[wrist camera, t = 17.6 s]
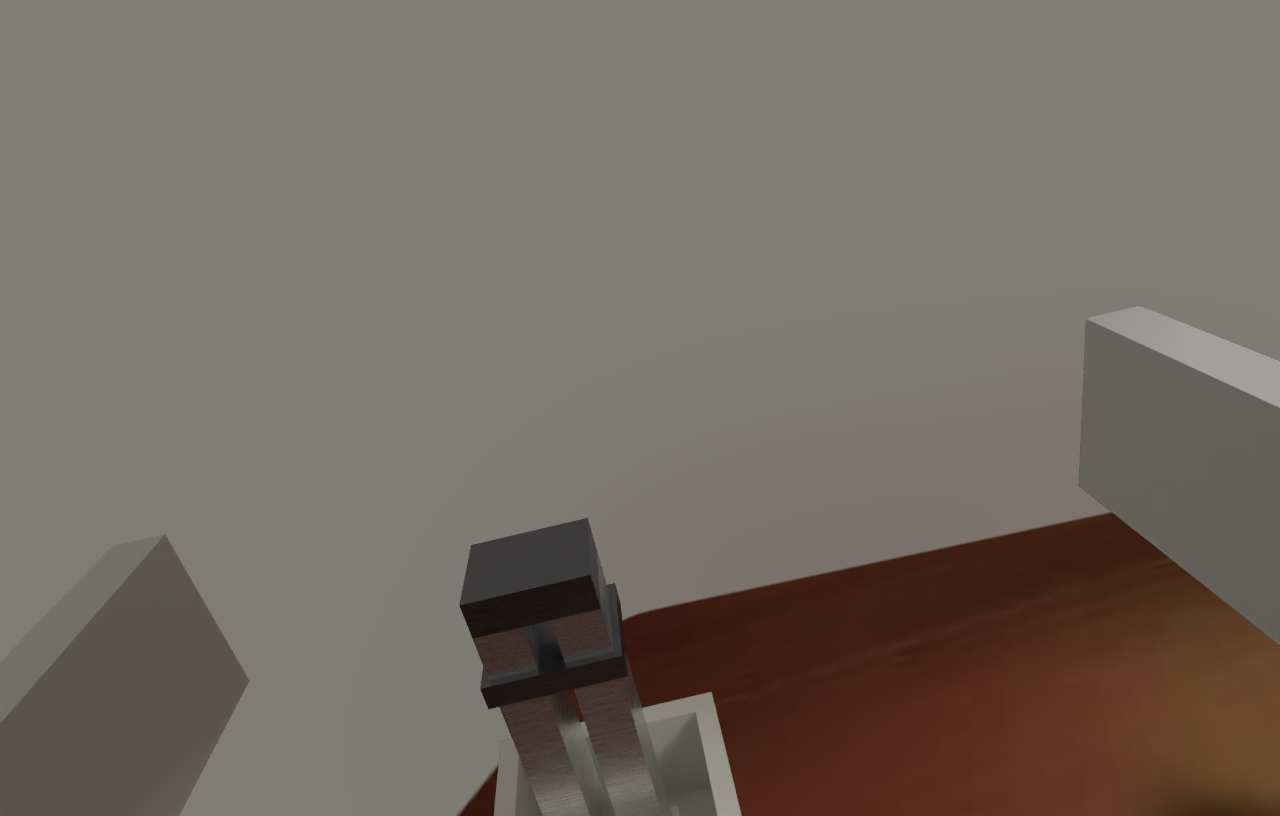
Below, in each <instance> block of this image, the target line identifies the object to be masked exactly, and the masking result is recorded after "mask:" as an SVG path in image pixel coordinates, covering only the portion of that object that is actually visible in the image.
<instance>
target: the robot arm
mask: <svg viewBox="0 0 1280 816" xmlns="http://www.w3.org/2000/svg"><path fill="white" fill-rule="evenodd" d="M1084 351H1085V352H1084V373H1083V398H1082V422H1081V445H1080V446H1081V447H1080V469H1079V487H1081V488H1082V489H1083V490H1084V491H1086V492H1087V493H1089V494H1090V495H1091V496H1092V497H1093V498H1095V499H1096V500H1097V501H1098V502H1100V503H1101V504H1102V505H1103V506H1105V507H1106V508H1107V509H1109V510H1110V511H1111V512H1112V513H1113V514H1115V515H1116V516H1117V517H1119V518H1120V519H1121V520H1122V521H1124V522H1125V523H1126V524H1127V525H1129V526H1130V527H1131V528H1132V529H1134V530H1135V531H1136V532H1138V533H1139V534H1140V535H1141V536H1143V537H1144V538H1145V539H1146V540H1148V541H1149V542H1150V543H1151V544H1153V545H1154V546H1155V547H1156V548H1158V549H1159V550H1160V551H1162V552H1163V553H1164V554H1165V555H1167V556H1168V557H1169V558H1170V559H1172V560H1173V561H1174V562H1175V563H1177V564H1178V565H1179V566H1180V567H1182V568H1183V569H1184V570H1186V571H1187V572H1188V573H1189V574H1191V575H1192V576H1193V577H1194V578H1196V579H1197V580H1198V581H1199V582H1201V583H1202V584H1203V585H1205V586H1206V587H1207V588H1208V589H1210V590H1211V591H1212V592H1213V593H1215V594H1216V595H1217V596H1218V597H1220V598H1221V599H1222V600H1223V601H1225V602H1226V603H1227V604H1229V605H1230V606H1231V607H1232V608H1234V609H1235V610H1236V611H1237V612H1239V613H1240V614H1241V615H1242V616H1244V617H1245V618H1246V619H1247V620H1249V621H1250V622H1251V623H1253V624H1254V625H1255V626H1256V627H1258V628H1259V629H1260V630H1261V631H1263V632H1264V633H1265V634H1266V635H1268V636H1269V637H1270V638H1272V639H1273V640H1274V641H1275V642H1277V643H1278V644H1279V645H1280V361H1277V360H1275V359H1272V358H1270V357H1267V356H1264V355H1262V354H1260V353H1257V352H1255V351H1252V350H1250V349H1247V348H1244V347H1242V346H1239V345H1237V344H1234V343H1232V342H1229V341H1227V340H1224V339H1222V338H1219V337H1217V336H1214V335H1212V334H1209V333H1207V332H1204V331H1202V330H1199V329H1196V328H1194V327H1191V326H1189V325H1186V324H1184V323H1181V322H1179V321H1176V320H1174V319H1171V318H1169V317H1166V316H1164V315H1161V314H1159V313H1156V312H1153V311H1151V310H1148V309H1146V308H1143V307H1141V306H1137V307H1133V308H1129V309H1124V310H1120V311H1116V312H1112V313H1107V314H1103V315H1099V316H1094V317H1091V318H1086V325H1085V350H1084ZM248 682H249V679H248V677H247V676H246V674H245V672H244V670H243V669H242V667H241V665H240V663H239V662H238V660H237V658H236V657H235V655H234V653H233V651H232V650H231V648H230V646H229V645H228V643H227V641H226V639H225V637H224V636H223V634H222V632H221V630H220V629H219V627H218V625H217V624H216V622H215V620H214V618H213V617H212V615H211V613H210V612H209V610H208V608H207V606H206V605H205V603H204V601H203V599H202V598H201V596H200V594H199V592H198V591H197V589H196V587H195V585H194V584H193V582H192V580H191V578H190V577H189V575H188V573H187V571H186V570H185V568H184V566H183V565H182V563H181V561H180V559H179V558H178V556H177V554H176V552H175V551H174V549H173V547H172V545H171V544H170V542H169V540H168V538H167V537H166V535H160V536H156V537H152V538H148V539H143V540H139V541H134V542H130V543H126V544H122V545H117V546H113V547H111V548H110V549H109V550H108V551H107V552H106V553H105V554H104V555H103V556H102V557H101V558H100V559H99V560H98V561H97V562H96V563H95V565H93V567H92V568H91V569H90V570H89V571H88V572H87V573H86V574H85V575H84V576H83V577H82V578H81V579H80V580H79V581H78V582H77V583H76V584H75V585H74V586H73V587H72V588H71V590H69V591H68V593H67V594H66V595H65V596H64V597H63V598H62V599H61V600H60V601H59V602H58V603H57V604H56V605H55V606H54V607H53V608H52V609H51V610H50V611H49V612H48V613H47V614H46V616H44V618H43V619H42V620H41V621H40V622H39V623H38V624H37V625H36V626H35V627H34V628H33V629H32V630H31V631H30V632H29V633H28V634H27V635H26V636H25V637H24V638H23V640H22V641H21V642H19V644H18V645H17V646H16V647H15V648H14V649H13V650H12V651H11V652H10V653H9V654H8V655H7V656H6V657H5V658H4V659H3V660H2V661H1V662H0V816H179V815H180V813H181V811H182V809H183V807H184V805H185V803H186V801H187V799H188V797H189V796H190V794H191V792H192V789H193V788H194V786H195V784H196V782H197V780H198V778H199V776H200V774H201V772H202V771H203V768H204V766H205V765H206V763H207V761H208V759H209V757H210V755H211V753H212V751H213V749H214V747H215V745H216V744H217V742H218V740H219V738H220V736H221V734H222V732H223V730H224V728H225V726H226V724H227V722H228V720H229V718H230V717H231V715H232V713H233V711H234V709H235V707H236V705H237V703H238V701H239V699H240V697H241V695H242V693H243V692H244V690H245V688H246V686H247V684H248Z"/></svg>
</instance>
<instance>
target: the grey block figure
mask: <svg viewBox="0 0 1280 816" xmlns="http://www.w3.org/2000/svg"><path fill="white" fill-rule="evenodd" d="M460 608H461V611H462V613H463V616H464V618H465V621H466V623H467V625H468V628H469V631H470V633H471V636H472V638H473V641H474V643H475V646H476V648H477V651H478V653H479V656H480V658H481V661H482V664H483V673H482V681H481V692H482V694H483V697H484V699H485V701H486V704H487V706H488V709H491V708H496V707H500V709H501V711H502V714H503V716H504V719H505V722H506V724H507V727H508V729H509V732H510V734H511V737H512V739H513V742H514V744H515V747H516V749H517V752H518V755H519V757H520V760H521V762H522V765H523V767H524V770H525V772H526V775H527V777H528V780H529V782H530V785H531V787H532V790H533V792H534V795H535V798H536V800H537V803H538V805H539V808H540V810H541V813H542V815H543V816H612V815H611V812H610V809H609V806H608V803H607V800H606V797H605V794H604V791H603V788H602V785H601V782H600V779H599V776H598V773H597V771H596V768H595V765H594V762H593V759H592V756H591V753H590V750H589V747H588V744H587V741H586V738H585V735H584V732H583V729H582V726H581V723H580V720H579V717H578V714H577V711H576V708H575V705H574V702H573V700H572V697H571V694H570V691H569V690H572V689H574V692H575V695H576V698H577V701H578V704H579V707H580V710H581V713H582V716H583V719H584V722H585V725H586V728H587V731H588V734H589V737H590V740H591V743H592V746H593V749H594V751H595V754H596V757H597V760H598V763H599V766H600V769H601V772H602V775H603V778H604V781H605V784H606V787H607V790H608V793H609V796H610V799H611V802H612V805H613V808H614V811H615V814H616V816H681V815H680V811H679V808H678V806H673V807H670V804H669V800H668V797H667V793H666V790H665V786H664V783H663V779H662V776H661V772H660V769H659V765H658V762H657V758H656V755H655V751H654V748H653V744H652V741H651V737H650V734H649V730H648V727H647V724H646V720H645V717H644V713H643V710H642V706H641V703H640V699H639V696H638V692H637V689H636V685H635V682H634V678H633V675H632V671H631V668H630V664H629V661H628V657H627V654H626V650H625V642H624V633H623V624H622V614H621V605H620V600H619V596H618V593H617V589H616V586H615V583H614V584H609V585H607V584H606V581H605V577H604V574H603V570H602V567H601V563H600V560H599V556H598V553H597V549H596V546H595V542H594V539H593V535H592V532H591V528H590V525H589V521H588V518H586V519H581V520H577V521H573V522H569V523H564V524H560V525H556V526H551V527H547V528H543V529H539V530H534V531H530V532H526V533H522V534H517V535H513V536H509V537H505V538H501V539H496V540H492V541H488V542H483V543H479V544H475V545H471V550H470V554H469V559H468V565H467V570H466V575H465V580H464V585H463V590H462V596H461V600H460Z"/></svg>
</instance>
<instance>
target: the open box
mask: <svg viewBox="0 0 1280 816" xmlns="http://www.w3.org/2000/svg"><path fill="white" fill-rule="evenodd" d="M642 710H643V713H644V717H645V720H646V724H647V727H648V730H649V734H650V737H651V741H652V744H653V748H654V751H655V755H656V758H657V762H658V765H659V769H660V772H661V776H662V779H663V783H664V786H665V790H666V793H667V797H668V800H669V804H670V807H673V806H678V808H679V811H680V815H681V816H742V815H741V811H740V807H739V803H738V799H737V795H736V791H735V786H734V782H733V778H732V774H731V770H730V766H729V762H728V758H727V753H726V749H725V745H724V741H723V737H722V733H721V729H720V725H719V721H718V716H717V712H716V708H715V704H714V700H713V696H712V692H709V693H704V694H700V695H696V696H691V697H687V698H683V699H679V700H674V701H670V702H666V703H662V704H657V705H653V706H649V707H644V708H642ZM580 723H581V726H582V729H583V732H584V735H585V738H586V741H587V744H588V747H589V750H590V753H591V756H592V759H593V762H594V765H595V768H596V771H597V773H598V776H599V779H600V782H601V785H602V788H603V791H604V794H605V797H606V800H607V803H608V806H609V809H610V812H611V815H612V816H616V814H615V811H614V808H613V805H612V802H611V799H610V796H609V793H608V790H607V787H606V784H605V781H604V778H603V775H602V772H601V769H600V766H599V763H598V760H597V757H596V754H595V751H594V749H593V746H592V743H591V740H590V737H589V734H588V731H587V728H586V725H585V722H580ZM494 816H543V815H542V813H541V810H540V808H539V805H538V803H537V800H536V798H535V795H534V792H533V790H532V787H531V785H530V782H529V780H528V777H527V775H526V772H525V770H524V767H523V765H522V762H521V760H520V757H519V755H518V752H517V749H516V747H515V744H514V742H513V739H508V740H504V741H501V743H500V755H499V765H498V776H497V786H496V797H495V808H494Z"/></svg>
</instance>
